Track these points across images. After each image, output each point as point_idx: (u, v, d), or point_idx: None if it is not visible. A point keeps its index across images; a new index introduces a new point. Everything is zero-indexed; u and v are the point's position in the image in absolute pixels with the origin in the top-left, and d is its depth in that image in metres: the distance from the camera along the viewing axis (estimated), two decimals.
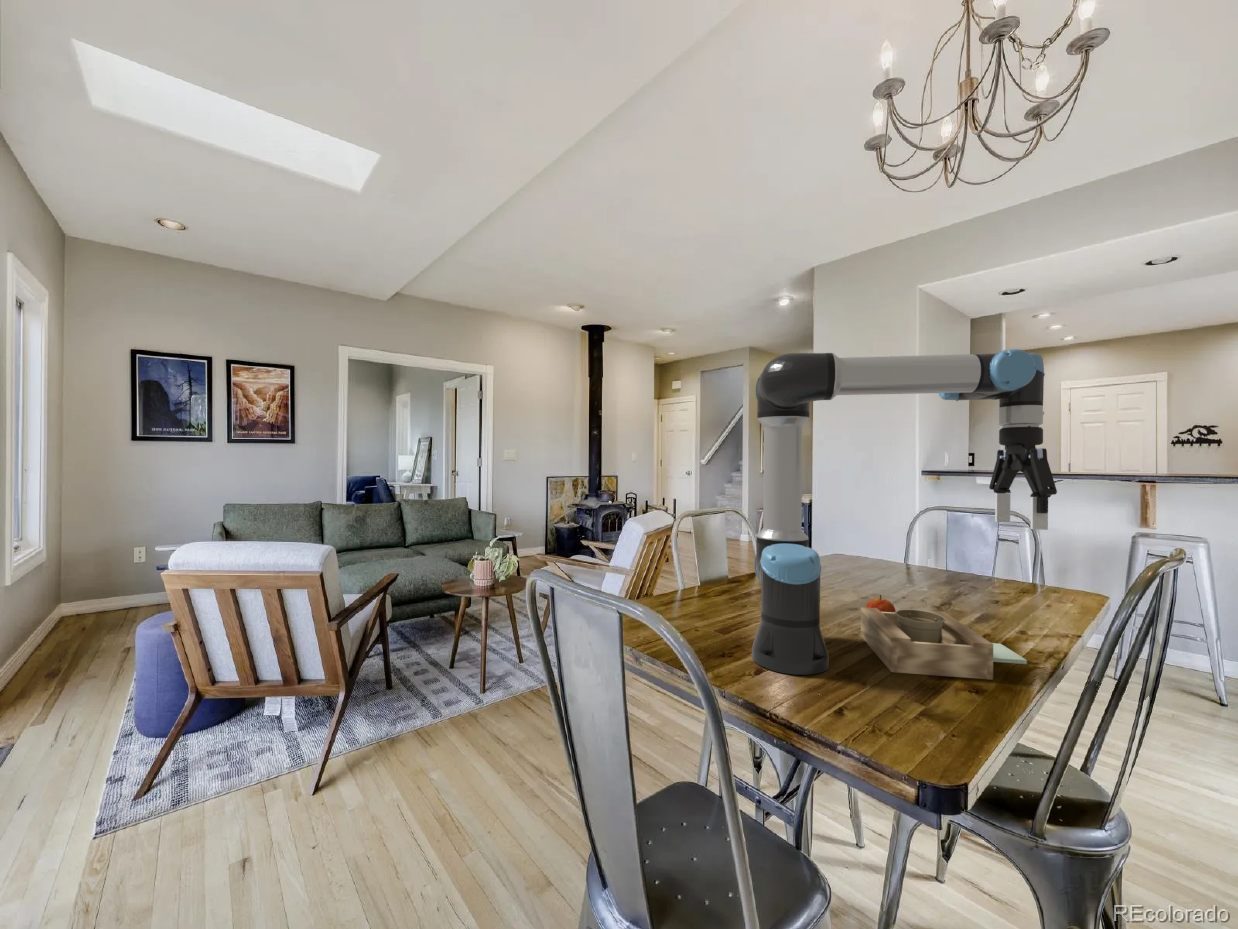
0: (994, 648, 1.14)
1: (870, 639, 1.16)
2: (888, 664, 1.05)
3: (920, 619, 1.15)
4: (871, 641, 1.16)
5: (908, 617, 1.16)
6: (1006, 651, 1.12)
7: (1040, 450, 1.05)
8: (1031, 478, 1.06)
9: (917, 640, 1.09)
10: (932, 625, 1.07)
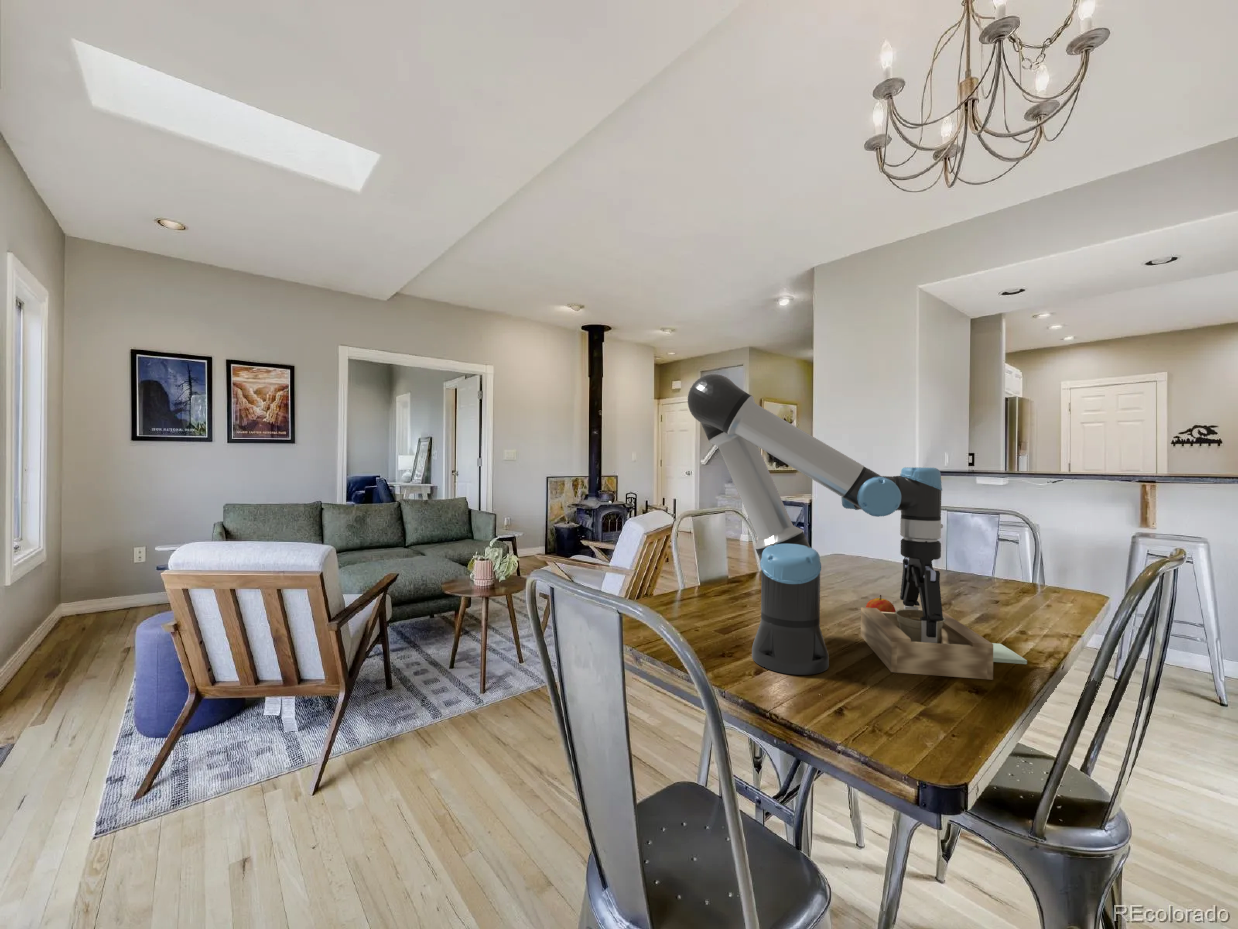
0: (994, 648, 1.14)
1: (870, 639, 1.16)
2: (888, 664, 1.05)
3: None
4: (871, 641, 1.16)
5: (908, 617, 1.16)
6: (1006, 651, 1.12)
7: (933, 574, 1.05)
8: (923, 599, 1.07)
9: (917, 640, 1.09)
10: None
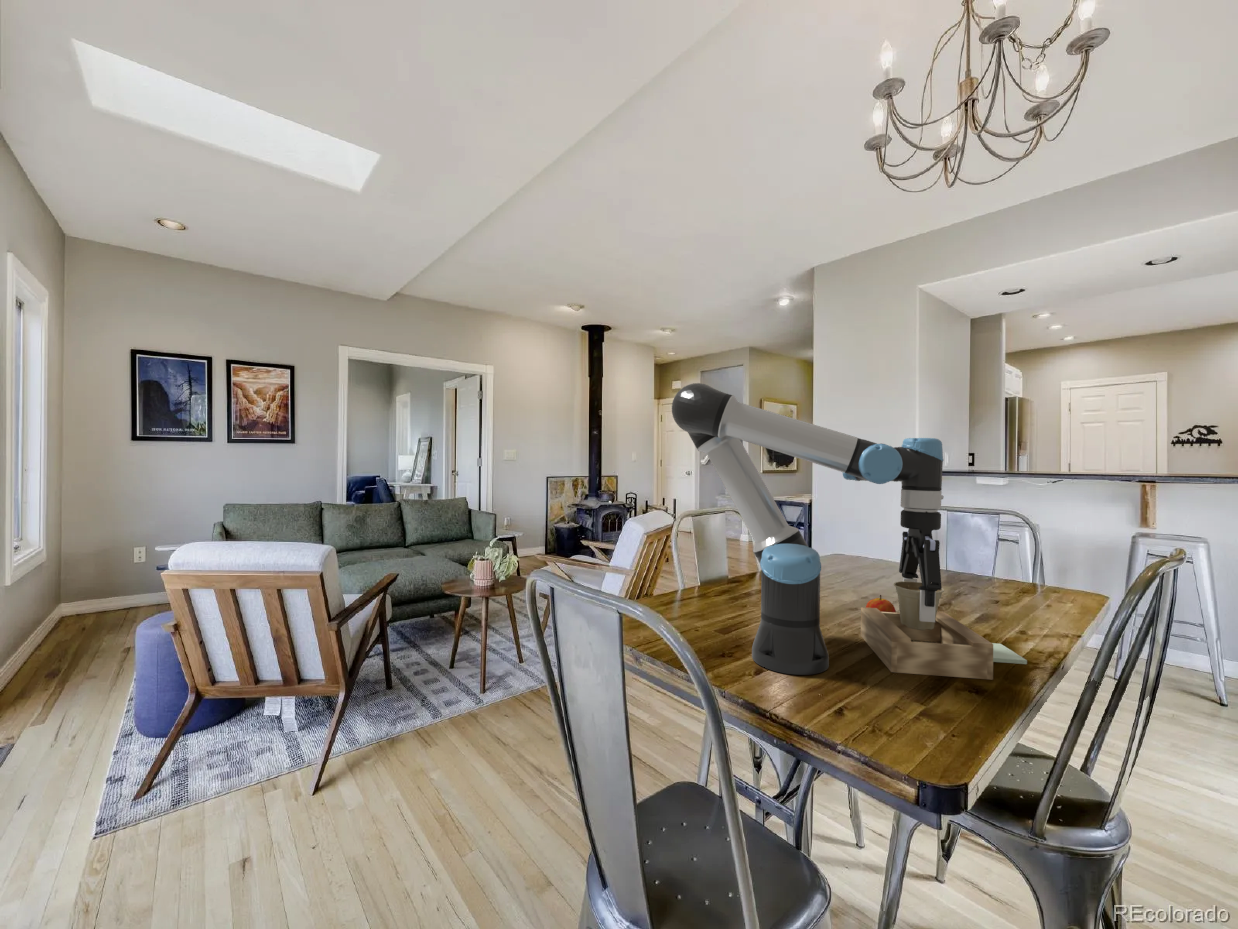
0: (994, 648, 1.14)
1: (870, 639, 1.16)
2: (888, 664, 1.05)
3: (919, 591, 1.15)
4: (871, 641, 1.16)
5: (907, 589, 1.16)
6: (1006, 651, 1.12)
7: (933, 543, 1.05)
8: (922, 569, 1.07)
9: (915, 610, 1.09)
10: None
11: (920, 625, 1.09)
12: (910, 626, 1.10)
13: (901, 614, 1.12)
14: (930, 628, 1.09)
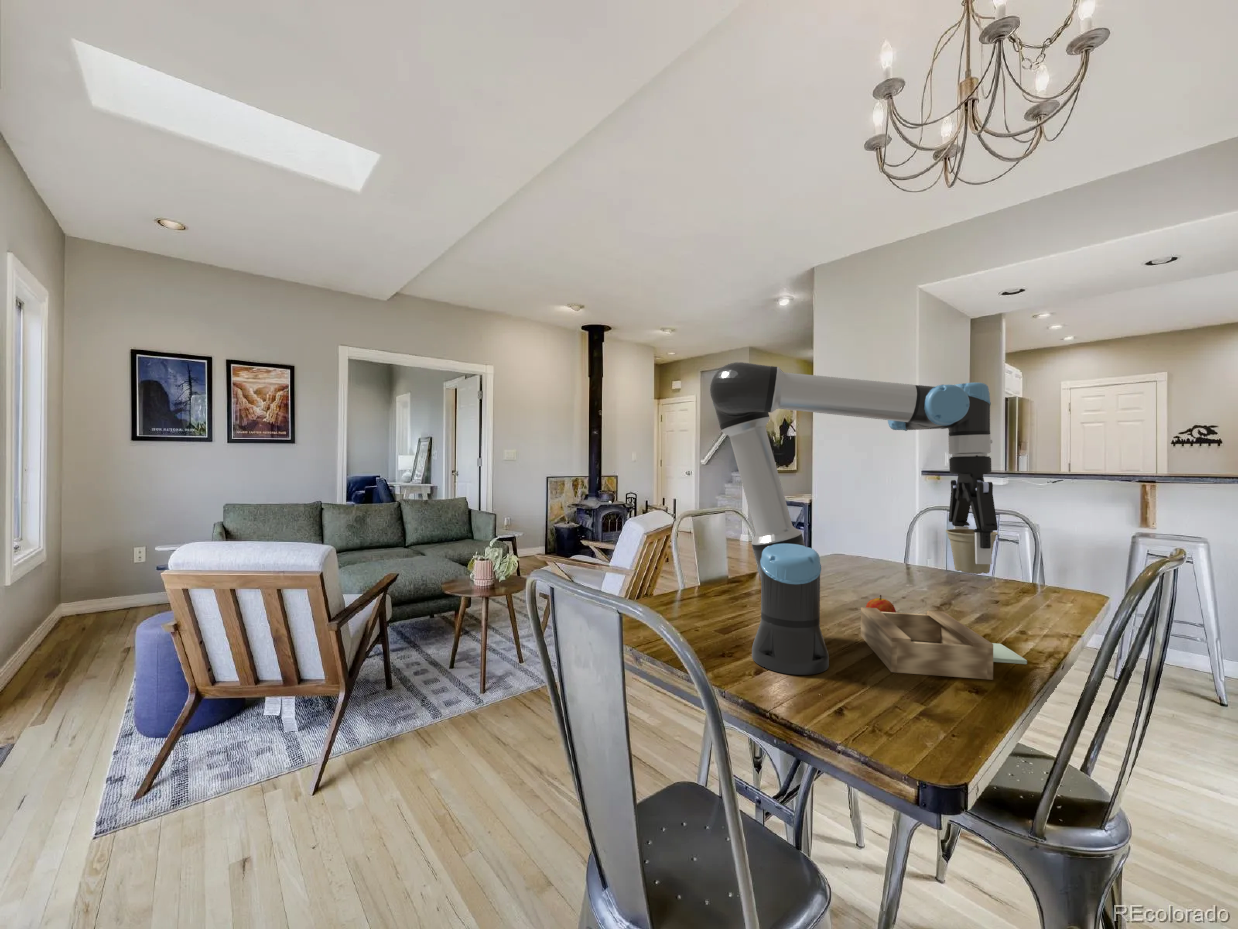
0: (994, 648, 1.14)
1: (870, 639, 1.16)
2: (888, 664, 1.05)
3: None
4: (871, 641, 1.16)
5: None
6: (1006, 651, 1.12)
7: (986, 485, 1.06)
8: (976, 512, 1.08)
9: (970, 554, 1.09)
10: None
11: (976, 569, 1.09)
12: (965, 570, 1.10)
13: (955, 560, 1.13)
14: (986, 571, 1.09)
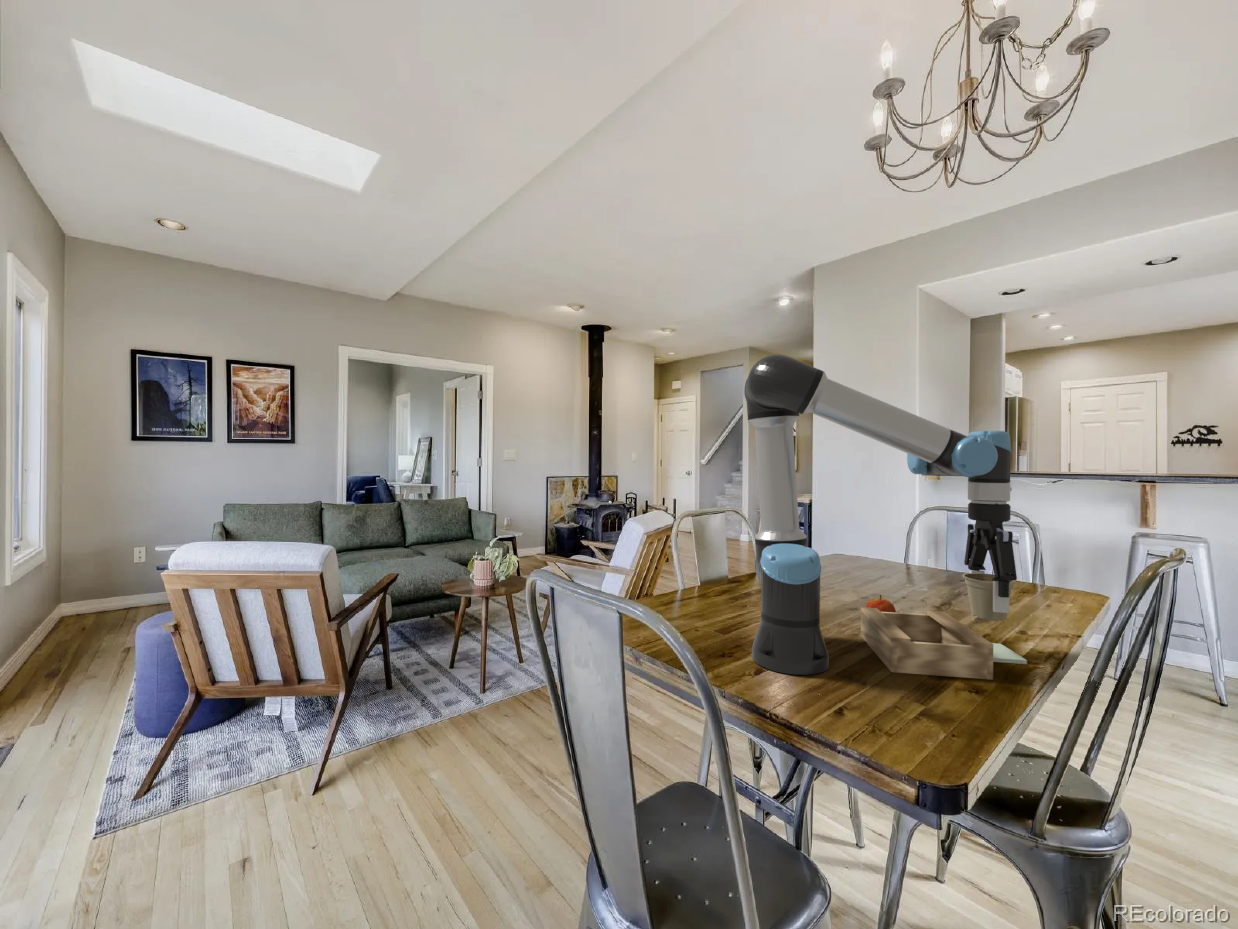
0: (994, 648, 1.14)
1: (870, 639, 1.16)
2: (888, 664, 1.05)
3: None
4: (871, 641, 1.16)
5: None
6: (1006, 651, 1.12)
7: (1006, 534, 1.06)
8: (995, 560, 1.08)
9: (988, 601, 1.10)
10: None
11: (993, 616, 1.10)
12: (982, 617, 1.11)
13: (972, 605, 1.13)
14: (1003, 618, 1.10)
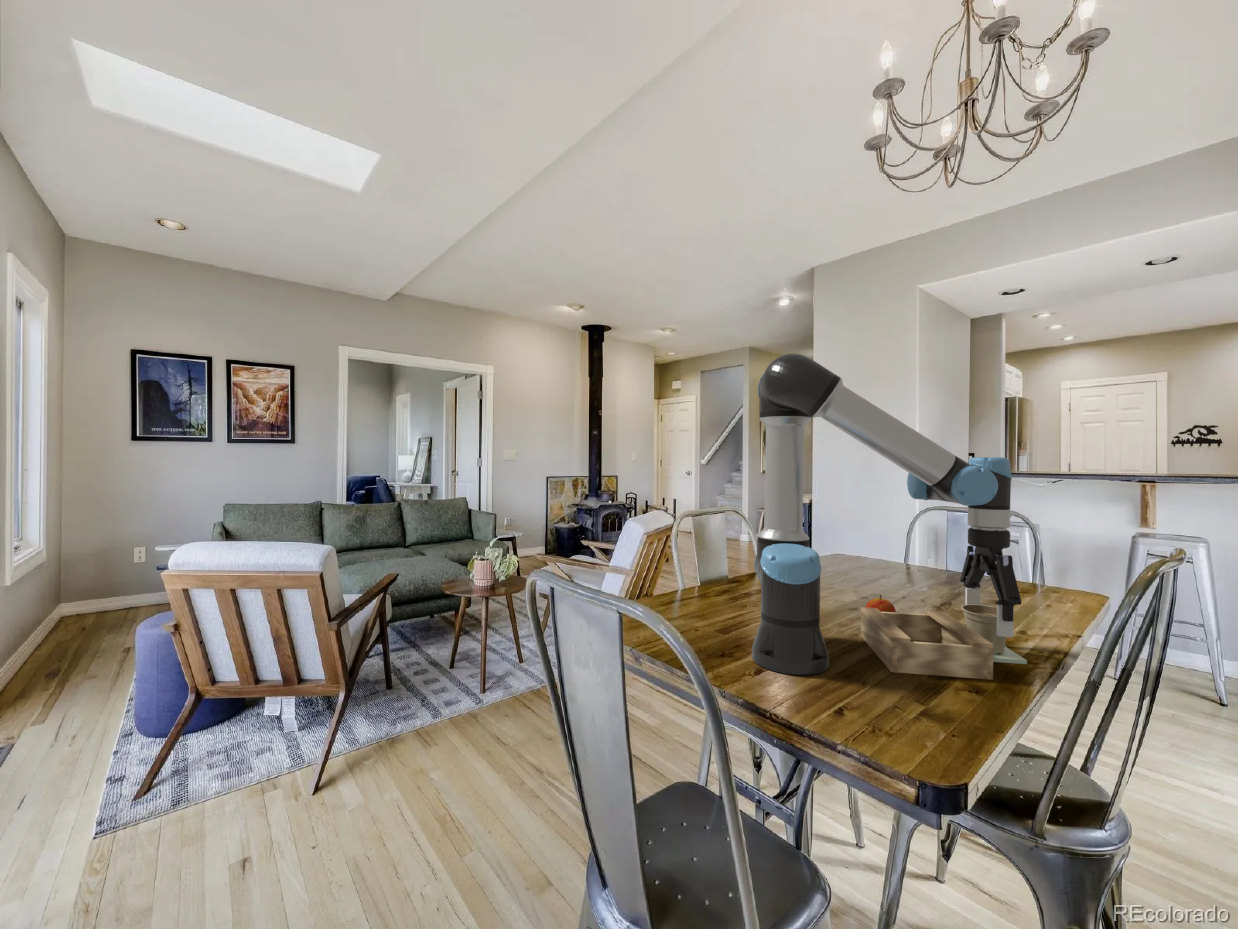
0: None
1: (870, 639, 1.16)
2: (888, 664, 1.05)
3: (985, 614, 1.16)
4: (871, 641, 1.16)
5: (973, 612, 1.17)
6: (1006, 651, 1.12)
7: (1006, 558, 1.06)
8: (997, 584, 1.07)
9: (986, 635, 1.10)
10: None
11: None
12: None
13: None
14: (1001, 652, 1.10)
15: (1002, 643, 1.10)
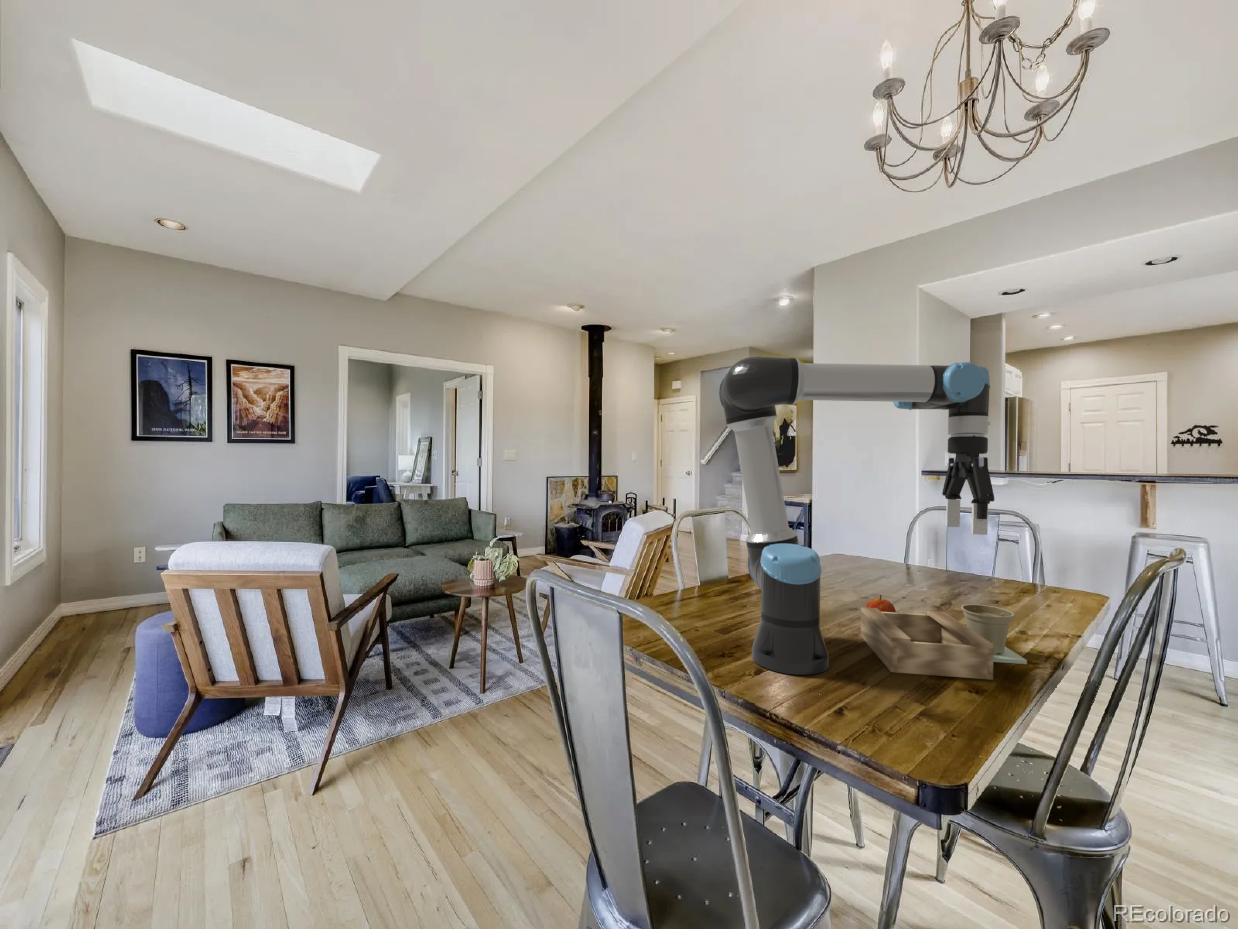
0: None
1: (870, 639, 1.16)
2: (888, 664, 1.05)
3: (985, 614, 1.16)
4: (871, 641, 1.16)
5: (973, 612, 1.17)
6: (1006, 651, 1.12)
7: (981, 459, 1.11)
8: (973, 485, 1.12)
9: (986, 635, 1.10)
10: (1002, 620, 1.09)
11: None
12: None
13: None
14: (1001, 652, 1.10)
15: (1002, 643, 1.10)
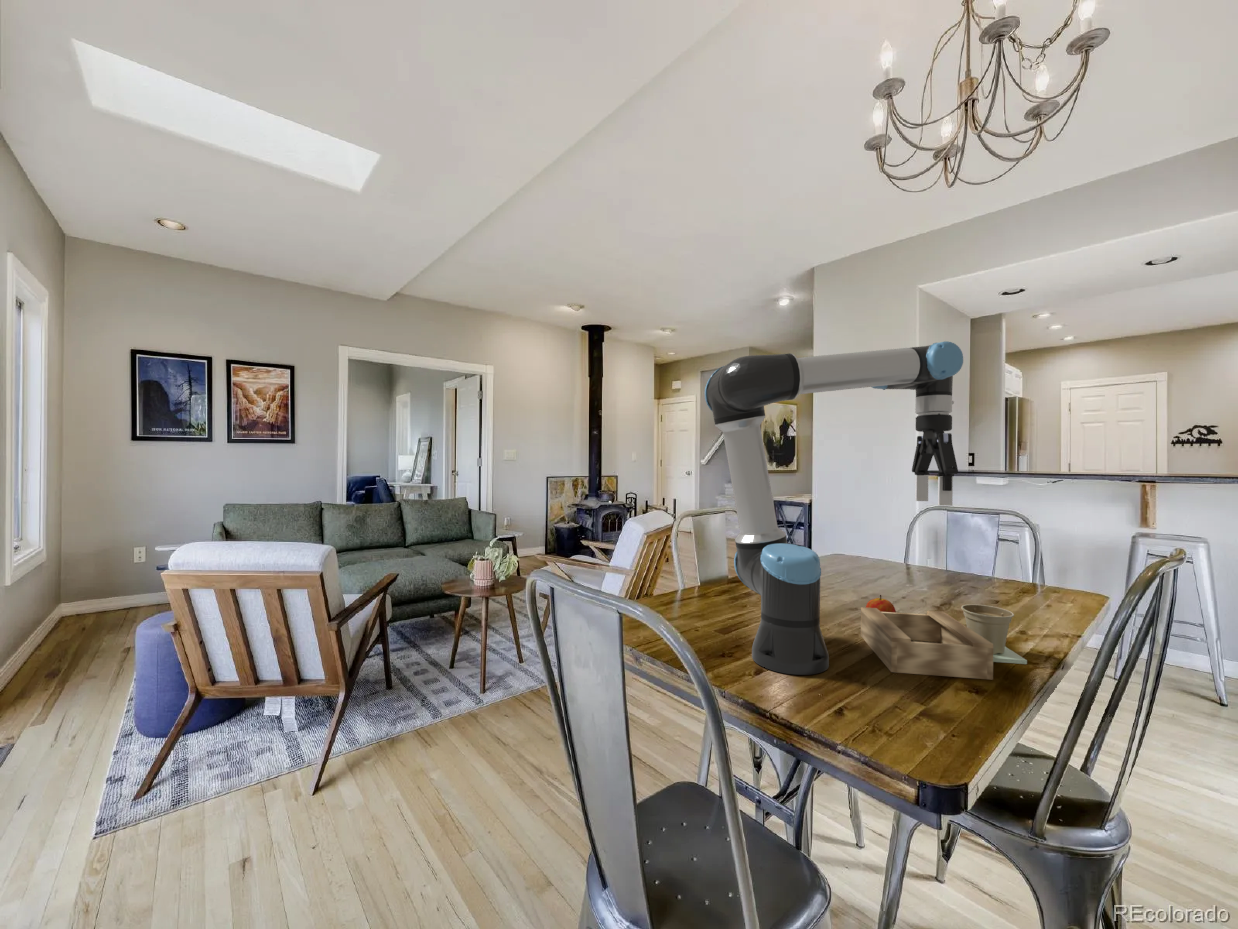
0: None
1: (870, 639, 1.16)
2: (888, 664, 1.05)
3: (985, 614, 1.16)
4: (871, 641, 1.16)
5: (973, 612, 1.17)
6: (1006, 651, 1.12)
7: (946, 435, 1.18)
8: (939, 460, 1.19)
9: (986, 635, 1.10)
10: (1002, 620, 1.09)
11: None
12: None
13: None
14: (1001, 652, 1.10)
15: (1002, 643, 1.10)
